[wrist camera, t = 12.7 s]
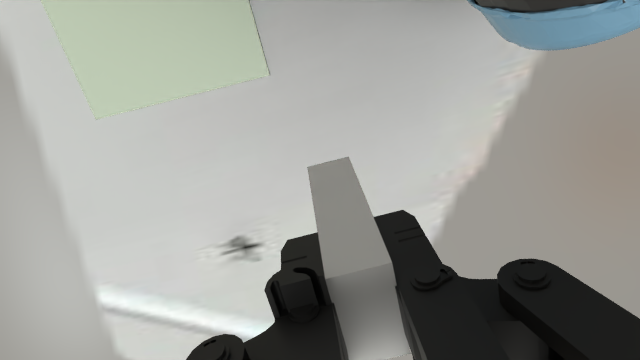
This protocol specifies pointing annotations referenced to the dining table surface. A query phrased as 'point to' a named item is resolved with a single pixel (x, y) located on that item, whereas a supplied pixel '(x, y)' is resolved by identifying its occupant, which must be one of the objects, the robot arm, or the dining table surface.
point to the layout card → (155, 48)
